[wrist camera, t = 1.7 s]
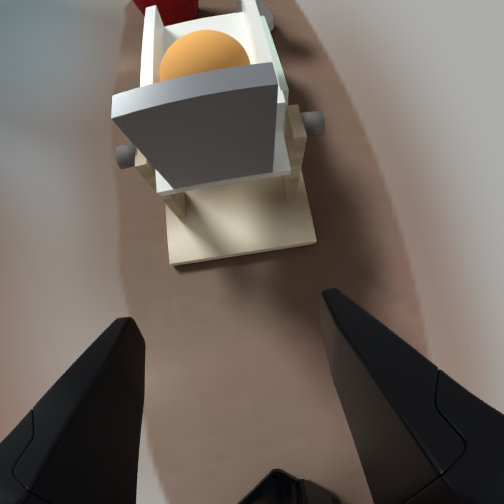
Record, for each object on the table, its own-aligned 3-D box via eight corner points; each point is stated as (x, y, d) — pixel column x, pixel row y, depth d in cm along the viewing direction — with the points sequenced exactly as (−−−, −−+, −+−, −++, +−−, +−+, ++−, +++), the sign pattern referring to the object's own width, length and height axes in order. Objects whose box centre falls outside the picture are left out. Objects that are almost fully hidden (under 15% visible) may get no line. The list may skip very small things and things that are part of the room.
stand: (316, 243, 22) (345, 192, 13) (171, 266, 22) (113, 230, 13) (295, 149, 23) (305, 67, 15) (165, 170, 24) (120, 100, 15)
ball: (218, 142, 14) (204, 107, 10) (156, 103, 14) (128, 65, 10) (268, 82, 14) (270, 36, 10) (205, 48, 14) (192, 1, 10)
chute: (289, 174, 14) (309, 81, 7) (160, 196, 14) (85, 126, 7) (252, 17, 15) (247, -72, 8) (157, 35, 15) (123, -47, 8)
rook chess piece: (283, 30, 27) (283, -30, 19) (248, 45, 26) (243, -18, 19) (256, 14, 28) (253, -42, 20) (223, 28, 27) (214, -30, 19)
